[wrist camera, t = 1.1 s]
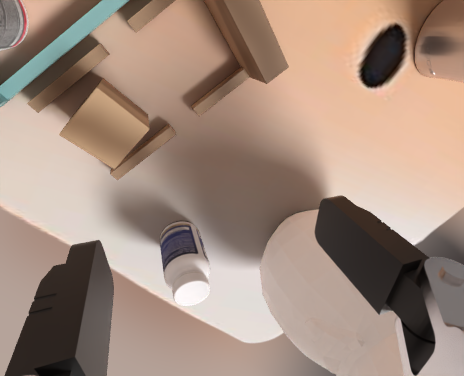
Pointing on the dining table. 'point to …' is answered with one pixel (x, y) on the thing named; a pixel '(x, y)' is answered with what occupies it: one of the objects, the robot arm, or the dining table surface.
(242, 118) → the dining table surface
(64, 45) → the frame
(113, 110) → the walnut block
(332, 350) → the white vase
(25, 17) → the pill bottle
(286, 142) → the dining table surface
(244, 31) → the walnut lane broken
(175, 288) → the pill bottle
